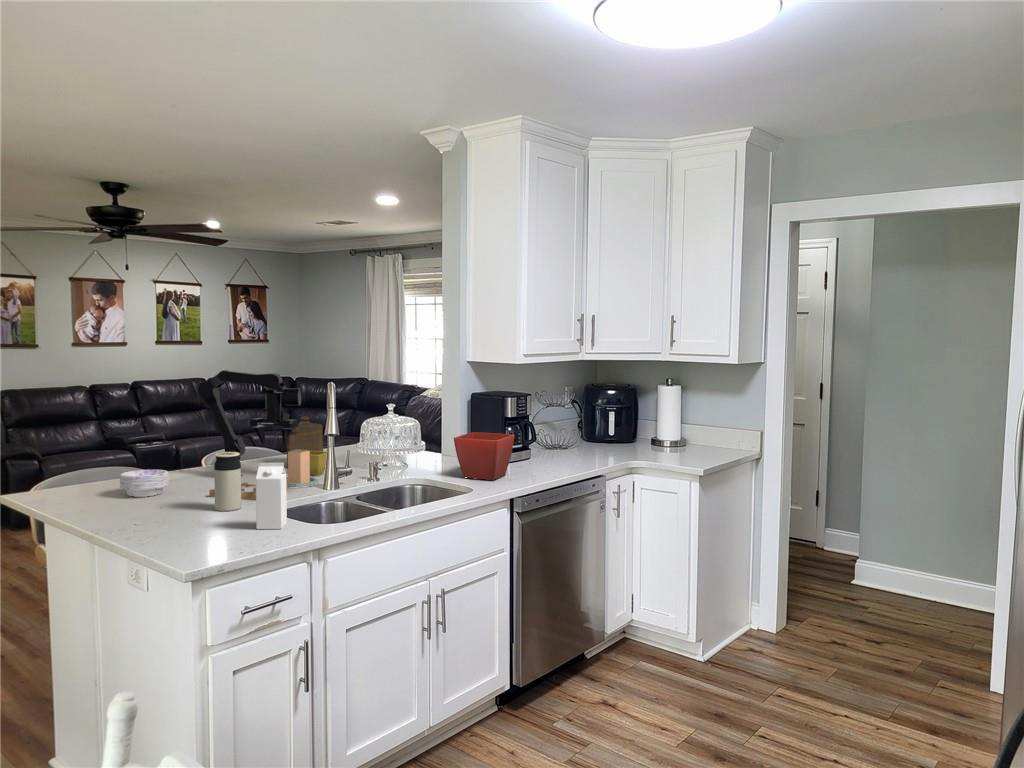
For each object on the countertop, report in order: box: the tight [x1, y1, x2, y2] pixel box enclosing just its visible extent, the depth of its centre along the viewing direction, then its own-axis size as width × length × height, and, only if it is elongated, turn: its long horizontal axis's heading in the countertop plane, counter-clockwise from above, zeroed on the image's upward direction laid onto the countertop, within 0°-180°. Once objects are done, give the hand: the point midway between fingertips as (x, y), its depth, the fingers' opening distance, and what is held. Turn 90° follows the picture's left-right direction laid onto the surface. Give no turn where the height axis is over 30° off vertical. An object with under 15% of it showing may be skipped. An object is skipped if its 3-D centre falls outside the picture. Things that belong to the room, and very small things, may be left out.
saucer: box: [289, 476, 319, 487], centre depth 277 cm, size 13×13×2 cm
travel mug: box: [213, 451, 242, 512], centre depth 237 cm, size 8×8×18 cm
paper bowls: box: [119, 469, 170, 498], centre depth 256 cm, size 15×15×8 cm
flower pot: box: [310, 450, 328, 477], centre depth 296 cm, size 9×9×9 cm
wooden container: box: [286, 415, 324, 469], centre depth 312 cm, size 15×15×22 cm
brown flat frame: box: [208, 476, 289, 501], centre depth 262 cm, size 18×21×4 cm
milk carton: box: [255, 462, 288, 530], centre depth 216 cm, size 7×7×19 cm
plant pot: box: [453, 431, 515, 481], centre depth 295 cm, size 19×19×17 cm
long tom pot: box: [287, 449, 311, 483], centre depth 276 cm, size 6×6×12 cm
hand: (273, 444), depth 289 cm, fingers open, 9 cm apart
